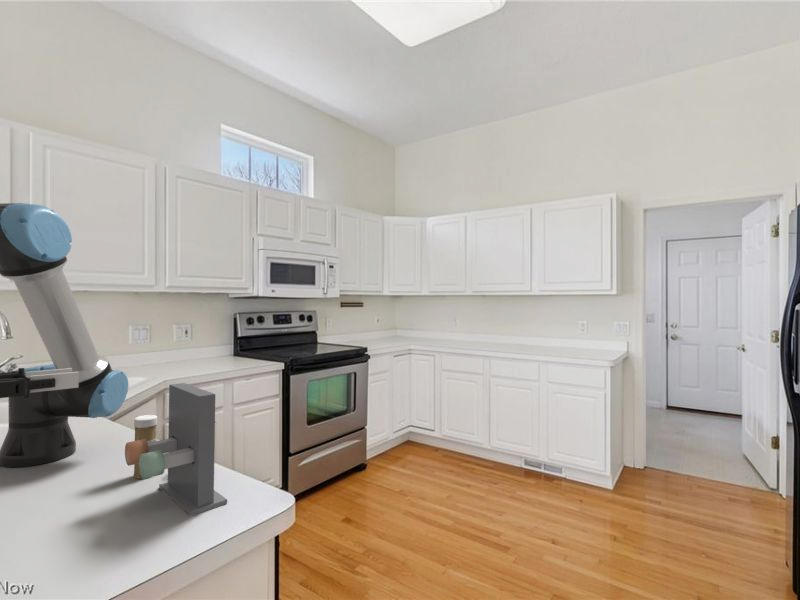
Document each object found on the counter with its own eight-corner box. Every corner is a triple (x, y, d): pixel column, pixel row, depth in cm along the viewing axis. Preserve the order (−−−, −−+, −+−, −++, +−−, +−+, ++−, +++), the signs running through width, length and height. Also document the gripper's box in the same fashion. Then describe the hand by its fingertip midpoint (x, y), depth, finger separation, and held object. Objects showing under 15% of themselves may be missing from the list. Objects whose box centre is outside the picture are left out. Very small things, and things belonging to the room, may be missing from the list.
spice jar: (139, 471, 100) (140, 414, 101) (159, 471, 101) (160, 414, 101) (129, 479, 96) (130, 419, 96) (150, 479, 96) (151, 419, 96)
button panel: (159, 488, 92) (160, 385, 92) (193, 478, 97) (194, 381, 97) (190, 515, 80) (192, 398, 80) (227, 503, 85) (229, 392, 86)
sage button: (138, 475, 79) (139, 451, 79) (202, 459, 88) (202, 437, 88) (146, 482, 76) (146, 457, 76) (211, 464, 85) (212, 442, 85)
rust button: (124, 462, 86) (125, 440, 86) (185, 448, 94) (185, 428, 94) (131, 468, 83) (131, 445, 83) (193, 453, 91) (194, 432, 91)
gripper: (-123, 411, 67) (64, 390, 84) (-137, 437, 55) (85, 406, 72) (-122, 363, 67) (65, 352, 84) (-136, 378, 55) (86, 361, 72)
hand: (74, 377), depth 78 cm, fingers open, 5 cm apart
